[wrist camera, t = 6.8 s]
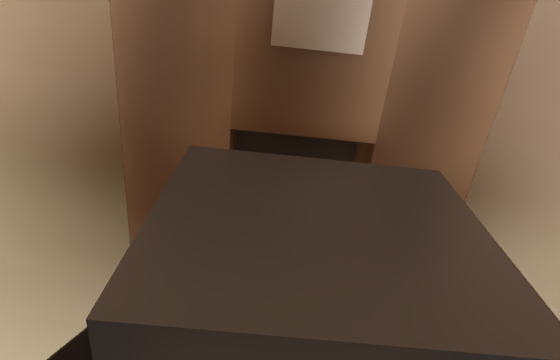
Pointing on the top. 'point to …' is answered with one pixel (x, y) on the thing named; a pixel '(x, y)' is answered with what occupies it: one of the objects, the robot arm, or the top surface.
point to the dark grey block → (315, 269)
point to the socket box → (310, 82)
